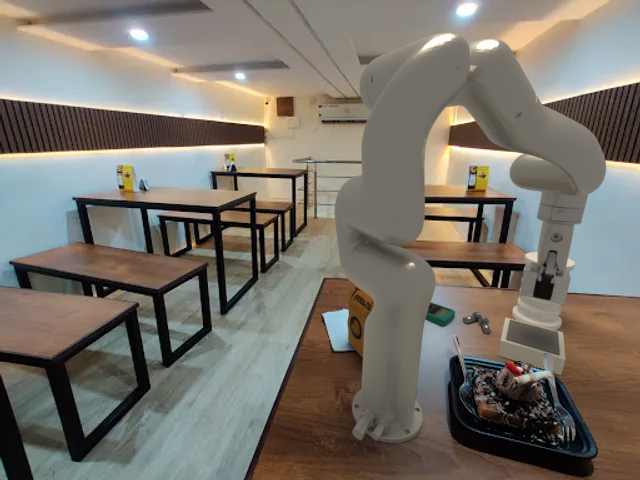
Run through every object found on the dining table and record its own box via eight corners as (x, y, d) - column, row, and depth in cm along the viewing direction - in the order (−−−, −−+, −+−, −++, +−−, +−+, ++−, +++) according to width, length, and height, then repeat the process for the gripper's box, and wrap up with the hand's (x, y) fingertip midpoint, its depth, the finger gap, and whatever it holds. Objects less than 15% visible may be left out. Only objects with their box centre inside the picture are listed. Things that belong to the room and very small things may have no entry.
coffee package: (363, 372, 68) (368, 279, 62) (342, 340, 79) (344, 258, 73) (404, 363, 71) (412, 273, 64) (378, 333, 82) (383, 253, 76)
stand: (561, 375, 67) (565, 358, 66) (497, 355, 74) (500, 339, 72) (559, 346, 77) (563, 331, 75) (502, 330, 83) (505, 316, 82)
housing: (519, 295, 71) (525, 266, 69) (521, 286, 75) (526, 258, 73) (564, 305, 66) (571, 274, 64) (562, 294, 71) (570, 265, 69)
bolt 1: (467, 325, 86) (469, 317, 85) (461, 320, 88) (462, 313, 87) (480, 321, 87) (482, 314, 87) (474, 317, 89) (475, 310, 89)
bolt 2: (491, 334, 82) (493, 326, 81) (481, 333, 82) (483, 325, 81) (487, 324, 86) (488, 317, 85) (477, 323, 86) (479, 315, 86)
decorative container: (571, 326, 85) (588, 264, 80) (538, 333, 82) (553, 269, 77) (533, 306, 96) (545, 249, 90) (502, 311, 93) (513, 253, 87)
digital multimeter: (408, 301, 100) (409, 292, 99) (455, 318, 90) (456, 309, 89) (395, 309, 95) (396, 300, 94) (444, 329, 85) (445, 319, 84)
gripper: (587, 224, 56) (564, 314, 62) (579, 208, 70) (560, 283, 75) (537, 219, 60) (519, 303, 66) (538, 204, 74) (523, 276, 79)
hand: (541, 292), depth 71 cm, fingers closed on housing, 5 cm apart
